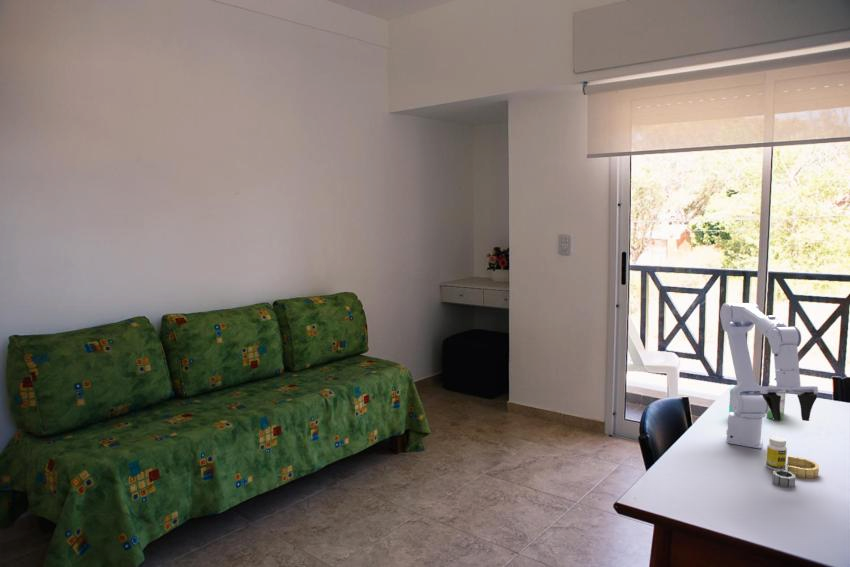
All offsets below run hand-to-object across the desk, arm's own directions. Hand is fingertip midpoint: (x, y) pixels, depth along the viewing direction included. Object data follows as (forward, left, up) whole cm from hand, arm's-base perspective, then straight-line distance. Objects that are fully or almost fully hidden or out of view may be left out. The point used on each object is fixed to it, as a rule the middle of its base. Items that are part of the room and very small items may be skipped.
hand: (791, 420), depth 165 cm
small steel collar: (-1, -7, -15) cm, 17 cm away
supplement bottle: (-3, +3, -15) cm, 16 cm away
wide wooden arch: (+3, +3, -15) cm, 16 cm away
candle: (-15, +41, -15) cm, 46 cm away
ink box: (-4, +51, -15) cm, 53 cm away
